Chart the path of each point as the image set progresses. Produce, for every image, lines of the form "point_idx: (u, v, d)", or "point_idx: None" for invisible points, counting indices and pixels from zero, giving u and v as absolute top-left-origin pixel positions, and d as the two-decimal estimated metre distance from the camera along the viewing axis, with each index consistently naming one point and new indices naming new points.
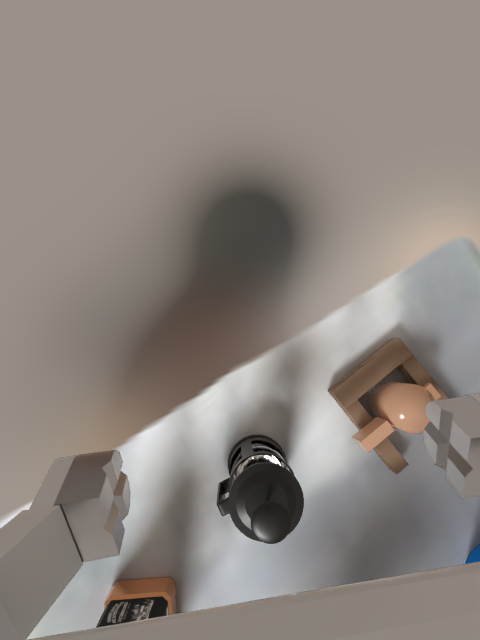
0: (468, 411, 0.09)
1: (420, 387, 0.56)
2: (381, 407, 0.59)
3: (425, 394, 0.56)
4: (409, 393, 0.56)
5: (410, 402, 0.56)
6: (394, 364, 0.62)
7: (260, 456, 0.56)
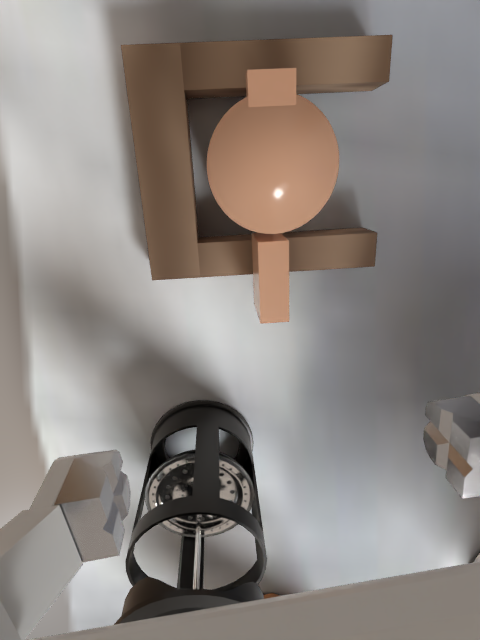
0: (468, 411, 0.09)
1: (239, 107, 0.19)
2: None
3: (264, 106, 0.19)
4: (235, 147, 0.20)
5: (254, 162, 0.20)
6: (177, 108, 0.24)
7: (171, 478, 0.29)
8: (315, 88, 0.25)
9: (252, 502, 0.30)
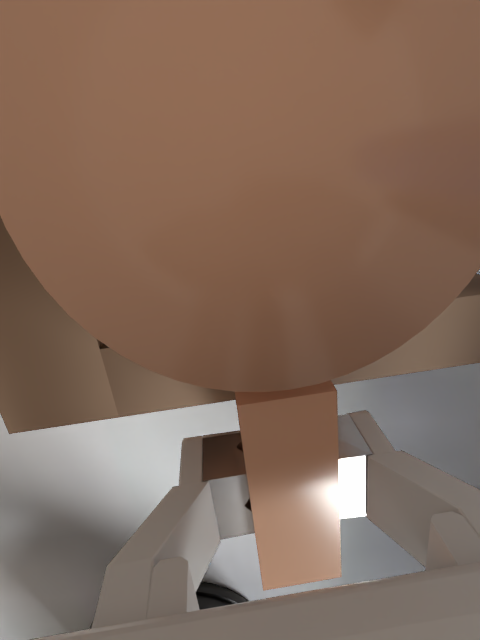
0: (340, 431, 0.09)
1: None
2: None
3: None
4: (97, 74, 0.04)
5: (192, 140, 0.05)
6: None
7: None
8: None
9: None
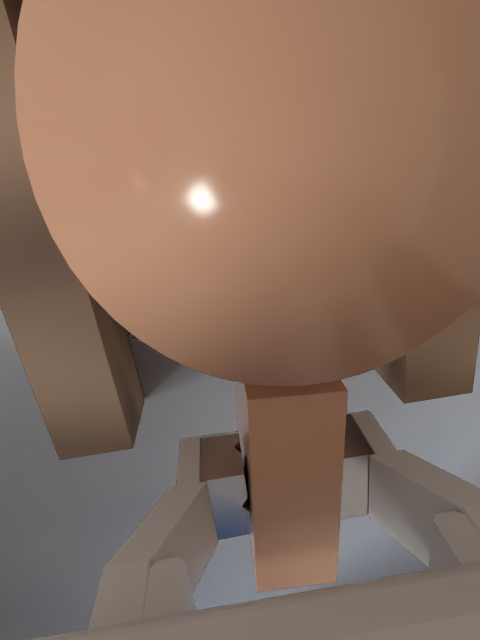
0: None
1: None
2: None
3: None
4: (142, 56, 0.04)
5: (231, 128, 0.05)
6: None
7: None
8: None
9: None
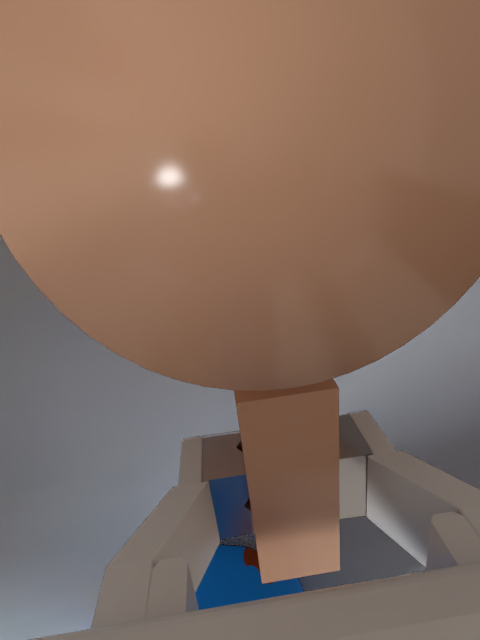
0: (340, 431, 0.09)
1: None
2: None
3: None
4: (86, 56, 0.04)
5: (190, 129, 0.04)
6: None
7: None
8: None
9: None
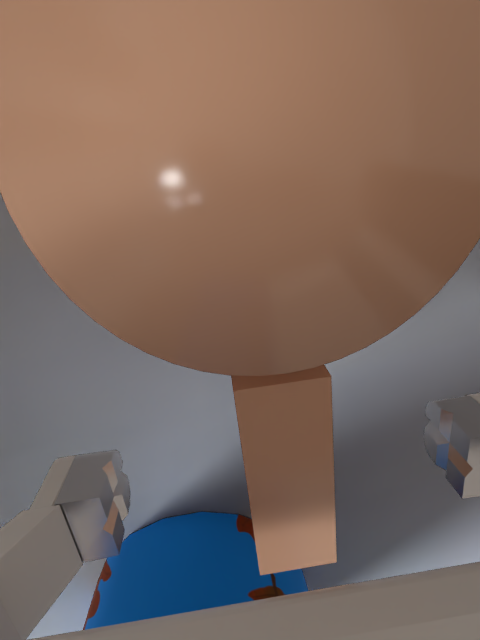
0: (468, 411, 0.09)
1: None
2: None
3: None
4: (97, 64, 0.05)
5: (190, 128, 0.05)
6: None
7: None
8: None
9: None
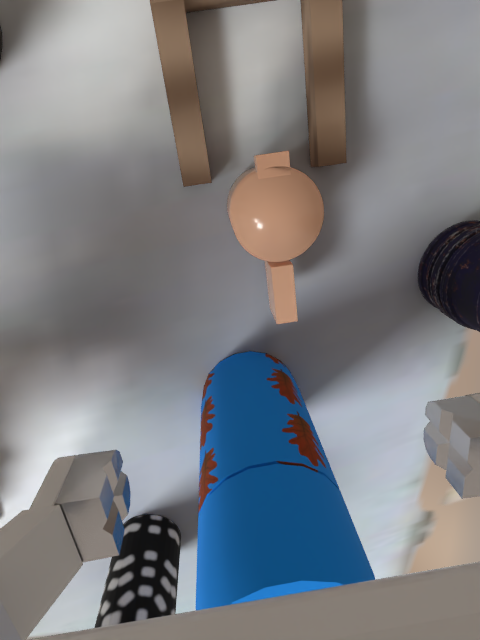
0: (468, 411, 0.09)
1: (252, 179, 0.28)
2: None
3: (269, 177, 0.28)
4: (251, 206, 0.28)
5: (265, 214, 0.29)
6: None
7: None
8: (312, 112, 0.32)
9: None
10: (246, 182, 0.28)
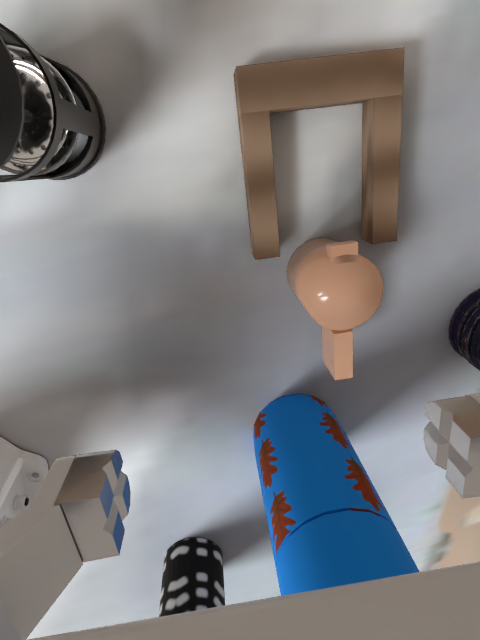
0: (468, 411, 0.09)
1: (325, 265, 0.33)
2: None
3: (340, 263, 0.33)
4: (322, 285, 0.33)
5: (333, 292, 0.34)
6: (364, 92, 0.33)
7: (35, 80, 0.28)
8: (368, 197, 0.37)
9: None
10: (320, 267, 0.33)
